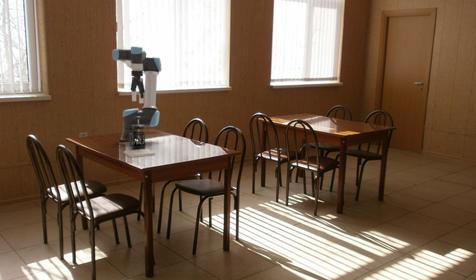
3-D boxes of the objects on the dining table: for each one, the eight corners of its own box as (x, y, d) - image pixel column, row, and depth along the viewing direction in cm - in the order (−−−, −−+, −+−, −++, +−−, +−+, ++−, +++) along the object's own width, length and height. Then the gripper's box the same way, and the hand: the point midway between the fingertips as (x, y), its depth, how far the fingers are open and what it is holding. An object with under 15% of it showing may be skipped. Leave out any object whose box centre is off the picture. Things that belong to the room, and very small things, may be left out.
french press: (142, 147, 326) (141, 114, 322) (149, 149, 319) (148, 116, 315) (127, 149, 318) (126, 116, 314) (134, 152, 312) (133, 117, 307)
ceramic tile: (123, 153, 308) (123, 150, 307) (146, 150, 316) (146, 148, 316) (130, 157, 296) (130, 155, 296) (154, 154, 304) (154, 152, 304)
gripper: (125, 69, 317) (126, 100, 321) (138, 71, 296) (139, 104, 300) (135, 69, 321) (136, 100, 325) (149, 71, 300) (150, 103, 304)
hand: (137, 102), depth 313 cm, fingers open, 13 cm apart
